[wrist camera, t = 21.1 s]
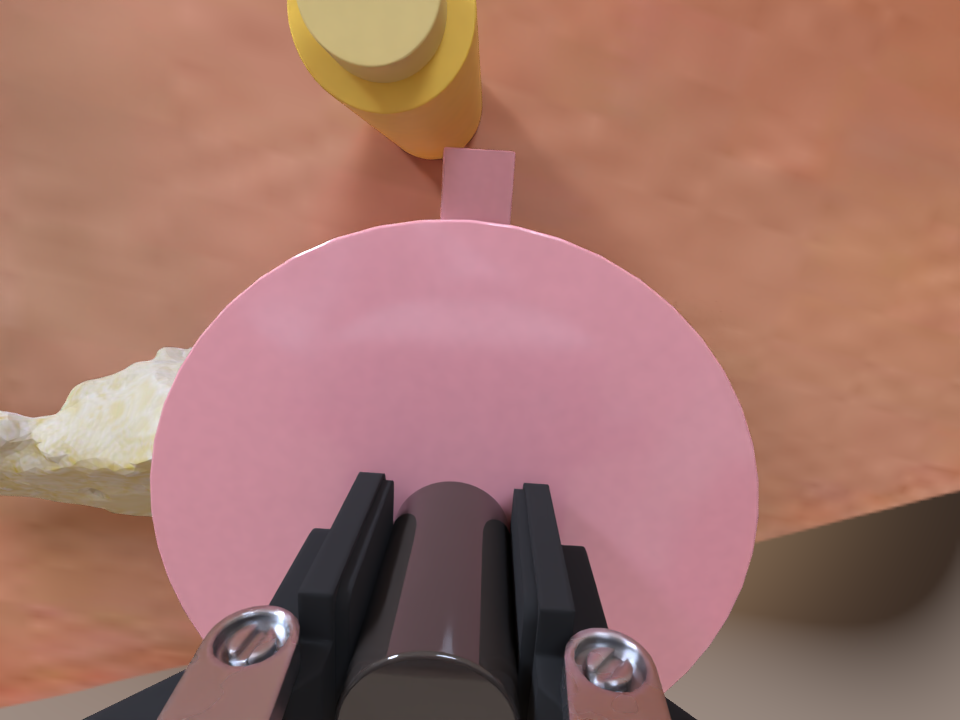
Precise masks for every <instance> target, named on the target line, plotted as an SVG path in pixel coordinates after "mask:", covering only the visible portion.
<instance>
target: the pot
mask: <svg viewBox="0 0 960 720" xmlns="http://www.w3.org/2000/svg"><path fill="white" fill-rule="evenodd" d="M515 155H516V154H515V152H514V151H505V150H490V149H475V148H460V147H444V149H443V170H442V194H441V217H440V219H471V220H478V221H486V222H493V223H501V224H508V225H510V220H511V207H512V194H513V181H514V168H515Z"/></svg>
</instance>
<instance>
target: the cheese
mask: <svg viewBox="0 0 960 720" xmlns="http://www.w3.org/2000/svg"><path fill="white" fill-rule="evenodd" d="M192 348H193V347H192ZM192 348H189V349H180V348H174V347H164V348H162V349H160V350H158V352H157V355H156V357H155V358H154V359H153V360H150V361H143V362H136V363H134V364H132V365H130V366H129V367H127V368H126V369H124V370H122V371H120V372H118V373H115V374H113V375H110V376H106V377H102V378H97V379H92V380H88V381H85V382H83V383H81V384H79V385H77V386H75V387H74V388H73V389H72V390H71V392H70V394H69V396H68V398H67V400H66V402H65V403H64V405H63V407H62V408H61V410H60V411H59V412H58V413H57V414H55V415H49V416H41V417H36V418H31V417H26V416H22V415H20V414H17V413H12V412H4V411H0V495H5V496H22V497H34V498H41V499H46V500H51V501H56V502H63V503H71V504H79V505H86V506H93V507H97V508H104V509H106V510H108V511H110V512H112V513H117V514H127V515H133V516H151V517H152V513H151V491H150V471H151V462H152V453H153V444H154V438H155V434H156V431H157V427H158V423H159V419H160V416H161V412H162V408H163V404H164V402H165V400H166V398H167V395H168V393H169V391H170V388H171V386H172V384H173V382H174V379H175V377H176V375H177V372H178V370H179V368H180V367H181V365H182V363H183V362H184V360H185V359H186V357H187V356H188V354H189V352H190V351H191V349H192Z"/></svg>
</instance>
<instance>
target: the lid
mask: <svg viewBox="0 0 960 720" xmlns="http://www.w3.org/2000/svg"><path fill="white" fill-rule="evenodd" d="M359 472H371V473H385V476H386V480H393V481H394V511H393V527H392V530H391V533H390V536H389V540H388V543H387V546H386V549H385V552H384V555H383V559H382V562H381V565H380V568H379V571H378V574H377V578H376V581H375V584H374V587H373V590H372V593H371V596H370V600H369V603H368V606H367V609H366V612H365V615H364V619H363V622H362V625H361V628H360V631H359V634H358V638H357V641H356V644H355V647H354V650H353V653H352V657H351V660H350V663H349V666H348V669H347V672H346V676H345V679H344V682H343V685H342V688H341V691H340V694H339V698H338V701H337V705H336V709H335V716H334V720H521V713H520V696H519V680H518V668H517V651H516V634H515V616H514V599H513V582H512V565H511V548H510V525H511V514H512V503H513V492H514V489H523V484H524V483H534V484H548V485H549V489H550V493H551V498H552V503H553V508H554V512H555V517H556V522H557V526H558V531H559V536H560V541H561V545H574V546H583V547H585V549H586V551H587V555H588V558H589V562H590V565H591V569H592V573H593V576H594V580H595V583H596V587H597V590H598V594H599V597H600V601H601V604H602V608H603V611H604V615H605V618H606V622H607V626H608V629H610V630H615V631H618V632H620V633H623V634H625V635H627V636H629V637H631V638H632V639H634V640H635V641H637V642H638V643H639V644H641V645H642V646H643V647H644V648H645V649H646V651H647V652H648V653H649V654H650V655H651V657H652V659H653V661H654V663H655V665H656V668H657V671H658V675H659V678H660V682H661V685H662V689H663V692H664V693H665V692H666V691H667V690H668V689H669V688H670V687H671V686H673V685H674V684H675V683H676V682H677V681H678V680H679V679H680V678H681V677H682V676H683V675H684V674H686V673H687V672H688V671H689V669H690V668H691V667H692V666H693V665H694V664H695V662H696V661H697V660H698V659H699V658H700V656H701V655H702V654H703V653H704V652H705V651H706V649H707V648H708V647H709V646H710V644H711V643H712V641H713V640H714V638H715V637H716V635H717V633H718V632H719V630H720V629H721V627H722V626H723V624H724V623H725V621H726V620H727V618H728V616H729V614H730V612H731V610H732V608H733V606H734V603H735V601H736V599H737V597H738V595H739V593H740V591H741V589H742V586H743V584H744V580H745V577H746V574H747V570H748V567H749V564H750V560H751V557H752V554H753V549H754V543H755V536H756V530H757V523H758V474H757V467H756V461H755V454H754V447H753V442H752V439H751V435H750V432H749V429H748V426H747V422H746V419H745V416H744V413H743V409H742V406H741V404H740V402H739V400H738V398H737V396H736V394H735V392H734V390H733V388H732V385H731V383H730V381H729V379H728V377H727V375H726V373H725V371H724V369H723V368H722V367H721V365H720V364H719V362H718V361H717V359H716V358H715V356H714V355H713V353H712V352H711V350H710V349H709V347H708V346H707V344H706V343H705V342H704V340H703V339H702V337H701V336H700V335H699V334H698V333H697V332H696V331H695V330H694V328H693V327H692V326H691V325H690V324H689V323H688V322H687V321H686V320H685V319H684V318H683V316H682V315H681V314H680V313H679V312H678V311H677V310H676V309H675V308H674V307H673V306H672V305H671V304H670V303H668V302H667V301H666V300H665V299H664V298H662V297H661V296H660V295H659V294H657V293H656V292H655V291H654V290H653V289H651V288H650V287H649V286H648V285H646V284H645V283H644V282H643V281H641V280H640V279H639V278H637V277H636V276H634V275H632V274H631V273H629V272H627V271H626V270H624V269H622V268H621V267H619V266H617V265H616V264H614V263H612V262H611V261H609V260H607V259H606V258H604V257H602V256H601V255H598V254H596V253H594V252H591V251H589V250H587V249H584V248H582V247H580V246H577V245H575V244H573V243H570V242H568V241H566V240H563V239H561V238H558V237H555V236H551V235H548V234H544V233H540V232H537V231H533V230H530V229H526V228H522V227H519V226H515V225H508V224H501V223H493V222H486V221H478V220H471V219H426V220H417V221H410V222H403V223H395V224H388V225H381V226H376V227H372V228H369V229H365V230H362V231H358V232H355V233H351V234H348V235H344V236H341V237H337V238H334V239H332V240H329V241H327V242H325V243H323V244H320V245H318V246H316V247H314V248H311V249H309V250H307V251H304V252H302V253H300V254H298V255H295V256H294V257H292V258H290V259H289V260H287V261H286V262H284V263H282V264H281V265H279V266H278V267H276V268H274V269H273V270H271V271H270V272H268V273H266V274H265V275H263V276H262V277H260V278H258V279H257V280H256V281H255V282H254V283H252V284H251V285H250V286H249V287H248V288H247V289H245V290H244V291H243V292H242V293H241V294H239V295H238V296H237V297H236V298H235V299H234V300H232V301H231V302H230V303H229V304H228V305H227V306H226V307H225V308H224V309H223V310H222V311H221V312H220V314H219V315H218V316H217V317H216V318H215V319H214V320H213V322H212V323H211V324H210V325H209V326H208V327H207V328H206V330H205V331H204V332H203V333H202V334H201V335H200V337H199V338H198V340H197V341H196V343H195V345H194V346H193V348H192V349H191V351H190V352H189V354H188V356H187V357H186V359H185V360H184V362H183V363H182V365H181V367H180V368H179V370H178V372H177V375H176V377H175V379H174V382H173V384H172V386H171V388H170V391H169V393H168V395H167V398H166V400H165V402H164V404H163V408H162V412H161V416H160V419H159V423H158V427H157V431H156V434H155V438H154V444H153V453H152V462H151V471H150V491H151V513H152V518H153V524H154V529H155V535H156V540H157V546H158V549H159V552H160V555H161V558H162V561H163V564H164V567H165V570H166V573H167V576H168V579H169V581H170V583H171V585H172V587H173V589H174V591H175V593H176V595H177V597H178V600H179V602H180V604H181V606H182V608H183V610H184V611H185V613H186V614H187V616H188V617H189V619H190V620H191V622H192V624H193V625H194V627H195V628H196V630H197V631H198V633H199V634H200V636H201V637H202V639H203V640H204V638H205V636H206V635H207V634H208V633H209V631H210V630H211V629H212V628H213V626H214V625H216V624H217V623H218V622H220V621H221V620H222V619H224V618H225V617H227V616H229V615H231V614H233V613H235V612H237V611H239V610H242V609H246V608H249V607H253V606H263V605H269V604H270V602H271V600H272V598H273V597H274V595H275V593H276V591H277V590H278V588H279V586H280V584H281V583H282V581H283V579H284V577H285V575H286V574H287V572H288V570H289V568H290V567H291V565H292V563H293V561H294V560H295V558H296V556H297V554H298V553H299V551H300V549H301V547H302V546H303V544H304V542H305V540H306V539H307V537H308V535H309V533H310V532H311V531H312V529H314V528H322V529H330V528H331V526H332V524H333V522H334V520H335V518H336V517H337V515H338V513H339V511H340V509H341V507H342V505H343V503H344V501H345V499H346V497H347V495H348V493H349V491H350V489H351V487H352V485H353V483H354V481H355V479H356V478H357V476H358V474H359Z"/></svg>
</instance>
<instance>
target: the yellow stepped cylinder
mask: <svg viewBox="0 0 960 720" xmlns="http://www.w3.org/2000/svg"><path fill="white" fill-rule="evenodd" d="M287 11H288V21H289V26H290V31H291V35H292V38H293V41H294V44H295V47H296V49H297V51H298V53H299V56H300V58H301V60H302V61H303V63H304V65H305V66H306V68H307V70H308V71H309V72H310V74H311V75H312V76H313V78H314V79H315V80H316V81H317V82H318V83H319V84H320V85H321V86H322V87H323V89H324V90H326V91H327V92H328V93H329V94H331V95H332V96H333V97H334V98H336V99H337V100H338V101H340V102H341V103H342V104H344V105H345V106H346V107H348V108H349V109H350V110H351V111H353V112H354V113H355V114H357V115H358V116H359V117H361V118H362V119H363V120H365V121H366V122H367V123H369V124H370V125H371V126H373V127H374V128H375V129H376V130H378V131H379V132H380V133H382V134H383V135H384V136H386V137H387V138H388V139H390V140H391V141H392V142H394V143H395V144H396V145H398V146H399V147H400V148H401V149H403V150H404V151H406V152H407V153H409V154H411V155H413V156H416V157H419V158H423V159H441V158H443V149H444V147H460V148H463V147H464V146H465V145H466V144H467V143H468V142H469V141H470V140H471V138H472V137H473V135H474V134H475V132H476V130H477V128H478V125H479V122H480V118H481V113H482V92H481V75H480V59H479V42H478V25H477V8H476V0H287Z"/></svg>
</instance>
